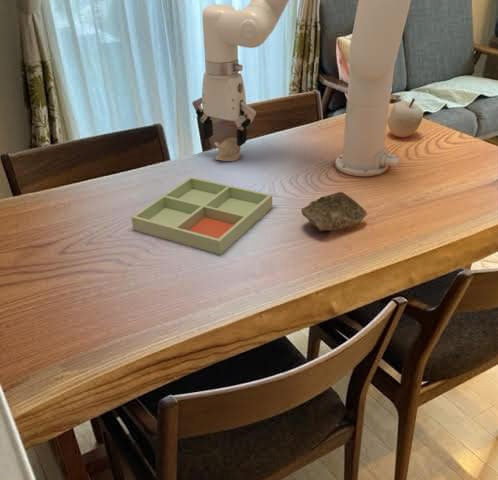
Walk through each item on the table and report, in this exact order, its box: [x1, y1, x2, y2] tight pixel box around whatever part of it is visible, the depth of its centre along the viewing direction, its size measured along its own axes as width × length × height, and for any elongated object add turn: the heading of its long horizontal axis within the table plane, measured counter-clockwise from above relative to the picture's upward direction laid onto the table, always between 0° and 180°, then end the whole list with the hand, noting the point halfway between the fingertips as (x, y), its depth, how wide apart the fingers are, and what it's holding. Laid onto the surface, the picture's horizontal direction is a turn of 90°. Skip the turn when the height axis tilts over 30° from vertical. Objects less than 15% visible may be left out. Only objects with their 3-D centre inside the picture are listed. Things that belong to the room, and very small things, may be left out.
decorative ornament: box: [214, 136, 242, 162], centre depth 135 cm, size 4×8×5 cm, turn 129°
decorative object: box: [387, 97, 424, 138], centre depth 142 cm, size 9×9×10 cm
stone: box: [300, 191, 368, 232], centre depth 108 cm, size 13×8×8 cm
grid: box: [130, 176, 273, 255], centre depth 112 cm, size 21×21×3 cm
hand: (224, 140), depth 134 cm, fingers open, 9 cm apart
